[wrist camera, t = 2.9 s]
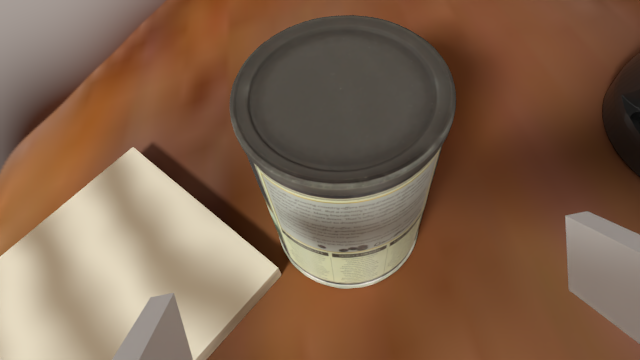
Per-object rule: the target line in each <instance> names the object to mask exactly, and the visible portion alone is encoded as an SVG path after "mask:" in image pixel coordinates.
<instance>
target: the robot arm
mask: <svg viewBox="0 0 640 360" xmlns="http://www.w3.org/2000/svg"><path fill="white" fill-rule="evenodd" d="M603 121H604V126H605V129H606V132H607V135H608V137H609V139H610V141H611V143H612V145H613V146H614V148H615V150H616V151H617V152H618V154H619V155H620V157H621V158H622V159H623V160H624V161H625V163H626V164H627V165H628V166H629V167H630V168H631V169H632V170H633V171H634V172H635V173H636V174H638V175H639V176H640V53H639V54H637V55H636V56H635V57H633V58H632V59H631V60H630V61H629V62H628V63H627V64H626V65H625V66H624V68H623V69H622V70H621V71H620V73H619V74H618V76H617V77H616V78H615V80H614V81H613V83H612V84H611V85H610V87H609V89H608V91H607V93H606V95H605V98H604V102H603ZM565 219H566V241H567V262H568V284H569V290H570V291H571V292H572V293H574V294H575V295H576V296H578V297H579V298H580V299H581V300H583V301H584V302H585V303H587V304H588V305H589V306H591V307H592V308H593V309H595V310H596V311H597V312H599V313H600V314H601V315H603V316H604V317H605V318H606V319H608V320H609V321H610V322H612V323H613V324H614V325H616V326H617V327H618V328H620V329H621V330H622V331H624V332H625V333H626V334H627V335H629V336H630V337H631V338H633V339H634V340H635V341H637V342H638V343H639V344H640V235H639V234H637V233H635V232H633V231H630V230H628V229H626V228H624V227H622V226H619V225H617V224H615V223H613V222H610V221H608V220H606V219H604V218H602V217H599V216H597V215H595V214H593V213H591V212H588V211H586V212H581V213H576V214H571V215H566V216H565ZM112 360H193V358H192V354H191V351H190V347H189V344H188V340H187V337H186V333H185V330H184V326H183V323H182V319H181V316H180V312H179V309H178V305H177V302H176V298H175V295H174V293H170V294H165V295H160V296H155V297H150V299H149V301H148V302H147V304H146V305H145V307H144V309H143V310H142V312H141V314H140V315H139V317H138V318H137V320H136V322H135V323H134V325H133V326H132V328H131V330H130V331H129V333H128V335H127V336H126V338H125V339H124V341H123V343H122V344H121V346H120V348H119V349H118V351H117V352H116V354H115V356H114V357H113V359H112Z"/></svg>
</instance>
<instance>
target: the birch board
mask: <svg viewBox="0 0 640 360" xmlns="http://www.w3.org/2000/svg"><path fill="white" fill-rule="evenodd" d="M280 276H281V273H280V270H279V268H278V267H277V266H276V265H274V264H273V263H272V262H271V261H270V260H268V259H267V258H266V257H265V256H264V255H262V254H261V253H260V252H259V251H257V250H256V249H255V248H254V247H253V246H251V245H250V244H249V243H248V242H247V241H245V240H244V239H243V238H242V237H241V236H239V235H238V234H237V233H236V232H235V231H233V230H232V229H231V228H230V227H229V226H227V225H226V224H225V223H224V222H223V221H221V220H220V219H219V218H218V217H217V216H215V215H214V214H213V213H212V212H211V211H209V210H208V209H207V208H206V207H205V206H203V205H202V204H201V203H200V202H199V201H197V200H196V199H195V198H194V197H193V196H191V195H190V194H189V193H188V192H186V191H185V190H184V189H183V188H182V187H180V186H179V185H178V184H177V183H176V182H174V181H173V180H172V179H171V178H170V177H168V176H167V175H166V174H165V173H164V172H162V171H161V170H160V169H159V168H158V167H156V166H155V165H154V164H153V163H152V162H150V161H149V160H148V159H147V158H146V157H144V156H143V155H142V154H141V153H140V152H138V151H137V150H136V149H135V148H134V147H132V148H131V149H130V150H129V151H127V152H126V153H125V154H124V155H123V156H121V157H120V158H119V159H118V160H117V161H115V162H114V163H113V164H112V165H110V166H109V167H108V168H107V169H106V170H104V171H103V172H102V173H101V174H100V175H98V176H97V177H96V178H95V179H94V180H92V181H91V182H90V183H89V184H88V185H86V186H85V187H84V188H83V189H81V190H80V191H79V192H78V193H77V194H75V195H74V196H73V197H72V198H71V199H69V200H68V201H67V202H66V203H65V204H63V205H62V206H61V207H60V208H59V209H57V210H56V211H55V212H54V213H52V214H51V215H50V216H49V217H48V218H46V219H45V220H44V221H43V222H42V223H40V224H39V225H38V226H37V227H36V228H34V229H33V230H32V231H31V232H30V233H28V234H27V235H26V236H25V237H23V238H22V239H21V240H20V241H19V242H17V243H16V244H15V245H14V246H13V247H11V248H10V249H9V250H8V251H7V252H5V253H4V254H3V255H2V256H1V257H0V360H112V359H113V357H114V356H115V354H116V352H117V351H118V349H119V348H120V346H121V344H122V343H123V341H124V339H125V338H126V336H127V335H128V333H129V331H130V330H131V328H132V326H133V325H134V323H135V322H136V320H137V318H138V317H139V315H140V314H141V312H142V310H143V309H144V307H145V305H146V304H147V302H148V301H149V299H150V297H155V296H160V295H165V294H170V293H174V295H175V298H176V302H177V305H178V309H179V312H180V316H181V319H182V323H183V326H184V330H185V333H186V337H187V340H188V344H189V347H190V351H191V354H192V358H193V360H206V359H207V358H208V357H209V356H210V355H211V354H212V353H213V351H214V350H215V349H216V348H217V347H218V346H219V345H220V344H221V342H222V341H223V340H224V339H225V338H226V337H227V336H228V335H229V333H230V332H231V331H232V330H233V329H234V328H235V327H236V326H237V325H238V323H239V322H240V321H241V320H242V319H243V318H244V317H245V316H246V314H247V313H248V312H249V311H250V310H251V309H252V308H253V307H254V305H255V304H256V303H257V302H258V301H259V300H260V299H261V298H262V297H263V295H264V294H265V293H266V292H267V291H268V290H269V289H270V288H271V286H272V285H273V284H274V283H275V282H276V281H277V280H278V279H279V277H280Z"/></svg>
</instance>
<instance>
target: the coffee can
mask: <svg viewBox="0 0 640 360" xmlns="http://www.w3.org/2000/svg"><path fill="white" fill-rule="evenodd" d="M455 109H456V91H455V85H454V82H453V77H452V75H451V72H450V70H449V68H448V66H447V64H446V63H445V61H444V59H443V58H442V57H441V55H440V54H439V53H438V52H437V50H436V49H435V48H434V47H433V46H432V45H431V44H429V43H428V42H427V41H426V40H424V39H423V38H422V37H420V36H419V35H417V34H415V33H414V32H412V31H410V30H408V29H407V28H404V27H402V26H400V25H398V24H395V23H392V22H390V21H386V20H383V19H378V18H373V17H367V16H354V15H350V16H331V17H322V18H317V19H312V20H309V21H305V22H302V23H300V24H297V25H294V26H292V27H289V28H287V29H285V30H283V31H281V32H280V33H278V34H276V35H274V36H273V37H271V38H270V39H269V40H267V41H266V42H264V43H263V44H262V45H260V46H259V47H258V48H257V49H256V50H255V51H254V52H253V53H252V54H251V55H250V56H249V58H248V59H247V60H246V61H245V63H244V64H243V66H242V67H241V69H240V71H239V73H238V75H237V77H236V79H235V81H234V83H233V87H232V91H231V96H230V116H231V122H232V125H233V129H234V132H235V134H236V137H237V139H238V141H239V143H240V145H241V147H242V148H243V150H244V151H245V153H246V154H247V157H248V159H249V162H250V164H251V167H252V169H253V172H254V174H255V177H256V179H257V182H258V184H259V187H260V189H261V192H262V194H263V196H264V199H265V201H266V204H267V206H268V209H269V211H270V214H271V216H272V219H273V222H274V224H275V227H276V229H277V232H278V234H279V238H280V242H281V245H282V247H283V249H284V251H285V253H286V255H287V257H288V258H289V260H290V261H291V263H292V264H293V265H294V266H295V267H296V268H297V269H298V270H299V271H300V272H302V273H303V274H304V275H306V276H307V277H309V278H311V279H312V280H314V281H316V282H319V283H321V284H324V285H327V286H331V287H336V288H360V287H365V286H369V285H373V284H375V283H377V282H379V281H382V280H383V279H385V278H387V277H388V276H390V275H391V274H393V273H394V272H396V271H397V270H398V269H399V268H400V267H401V266H402V264H403V263H404V262H405V261H406V260H407V258H408V257H409V255H410V254H411V252H412V250H413V248H414V245H415V243H416V239H417V235H418V228H419V225H420V222H421V219H422V215H423V211H424V208H425V205H426V201H427V197H428V193H429V190H430V187H431V184H432V180H433V177H434V174H435V170H436V166H437V164H438V159H439V156H440V153H441V148H442V144H443V143H444V141H445V139H446V138H447V136H448V133H449V131H450V128H451V125H452V122H453V119H454V114H455Z"/></svg>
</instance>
